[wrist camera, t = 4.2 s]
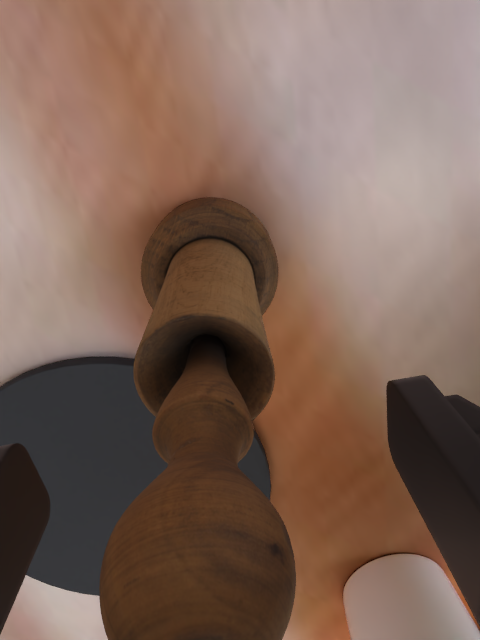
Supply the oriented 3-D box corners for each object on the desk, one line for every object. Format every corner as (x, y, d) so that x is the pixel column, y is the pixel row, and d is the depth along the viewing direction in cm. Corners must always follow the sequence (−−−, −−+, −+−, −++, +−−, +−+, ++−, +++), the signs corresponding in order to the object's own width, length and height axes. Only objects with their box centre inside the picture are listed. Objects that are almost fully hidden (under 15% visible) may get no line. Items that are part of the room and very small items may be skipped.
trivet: (28, 605, 32) (24, 615, 31) (-105, 389, 24) (-115, 398, 23) (286, 562, 32) (288, 572, 31) (242, 328, 23) (243, 334, 23)
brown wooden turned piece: (154, 185, 20) (-118, 444, 4) (286, 209, 21) (545, 511, 4) (141, 312, 23) (-49, 788, 6) (258, 329, 23) (359, 791, 7)
